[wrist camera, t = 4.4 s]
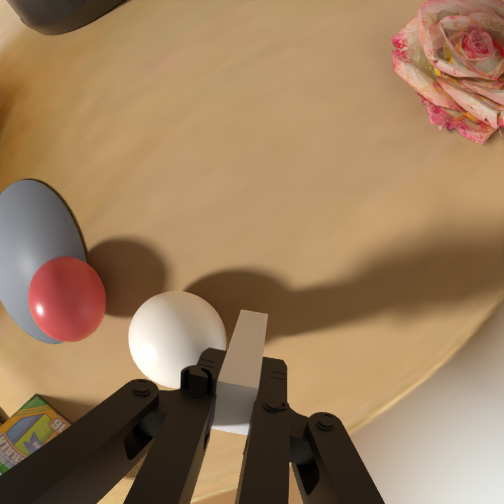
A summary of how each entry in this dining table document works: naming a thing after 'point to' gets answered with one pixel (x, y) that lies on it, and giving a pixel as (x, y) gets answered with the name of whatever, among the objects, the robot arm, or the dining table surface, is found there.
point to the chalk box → (28, 431)
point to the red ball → (67, 299)
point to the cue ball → (173, 335)
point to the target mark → (32, 245)
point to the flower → (456, 64)
